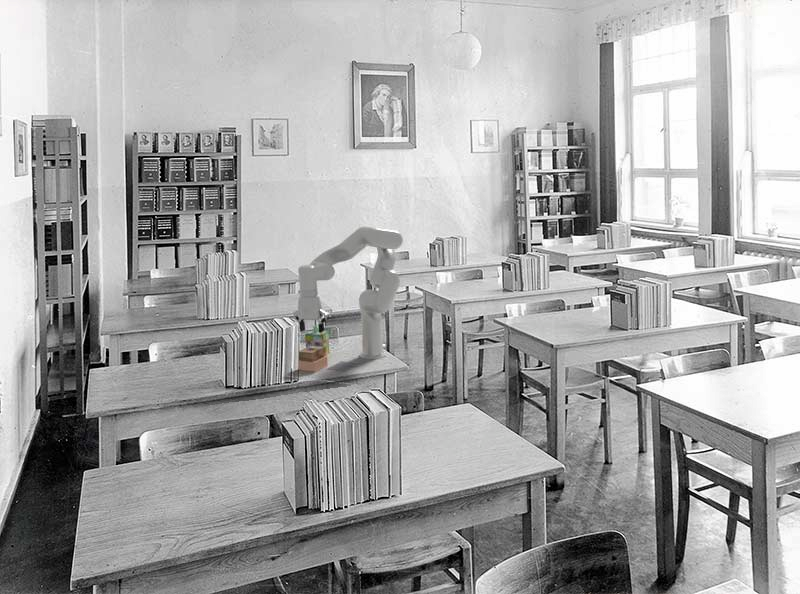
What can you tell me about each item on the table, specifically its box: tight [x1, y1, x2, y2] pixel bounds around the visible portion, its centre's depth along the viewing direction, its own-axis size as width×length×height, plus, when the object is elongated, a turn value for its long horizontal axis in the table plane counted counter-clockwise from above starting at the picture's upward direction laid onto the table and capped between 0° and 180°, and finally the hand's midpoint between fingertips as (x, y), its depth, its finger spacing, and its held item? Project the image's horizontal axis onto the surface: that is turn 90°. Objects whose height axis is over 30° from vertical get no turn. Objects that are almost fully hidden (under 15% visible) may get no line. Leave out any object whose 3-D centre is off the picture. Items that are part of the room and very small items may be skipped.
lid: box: [299, 346, 325, 362], centre depth 325 cm, size 11×7×5 cm, turn 154°
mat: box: [325, 360, 362, 372], centre depth 327 cm, size 14×10×1 cm
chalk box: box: [304, 324, 330, 357], centre depth 346 cm, size 9×9×15 cm
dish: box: [298, 355, 329, 373], centre depth 326 cm, size 10×10×5 cm
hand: (312, 331), depth 323 cm, fingers open, 9 cm apart
